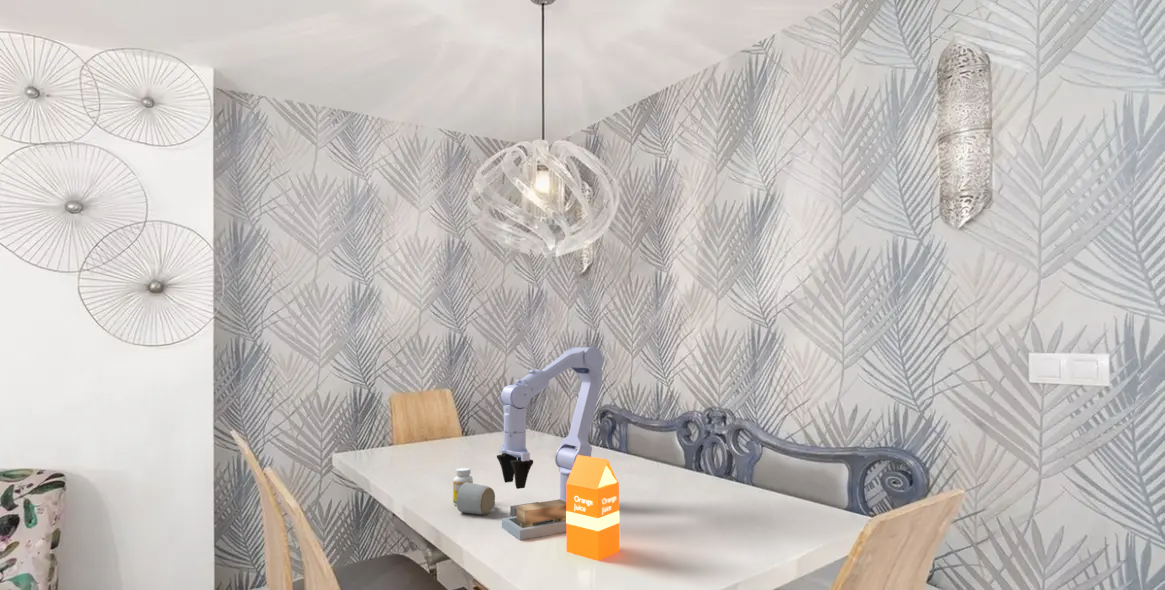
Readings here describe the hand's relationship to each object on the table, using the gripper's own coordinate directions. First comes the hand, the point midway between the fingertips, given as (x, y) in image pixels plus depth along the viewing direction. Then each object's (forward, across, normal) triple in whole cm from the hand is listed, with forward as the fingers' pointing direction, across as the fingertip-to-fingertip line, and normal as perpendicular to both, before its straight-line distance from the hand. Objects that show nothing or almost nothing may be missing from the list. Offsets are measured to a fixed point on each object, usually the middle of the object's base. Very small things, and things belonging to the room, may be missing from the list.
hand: (514, 484), depth 153 cm
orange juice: (+9, +31, +5) cm, 33 cm away
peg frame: (+8, +11, +3) cm, 14 cm away
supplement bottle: (+9, -20, -7) cm, 23 cm away
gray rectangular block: (+8, -1, +4) cm, 9 cm away
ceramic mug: (+9, -11, -6) cm, 15 cm away
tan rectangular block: (+6, +11, +3) cm, 13 cm away
